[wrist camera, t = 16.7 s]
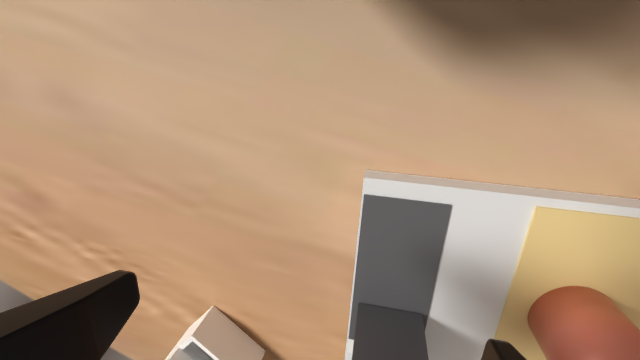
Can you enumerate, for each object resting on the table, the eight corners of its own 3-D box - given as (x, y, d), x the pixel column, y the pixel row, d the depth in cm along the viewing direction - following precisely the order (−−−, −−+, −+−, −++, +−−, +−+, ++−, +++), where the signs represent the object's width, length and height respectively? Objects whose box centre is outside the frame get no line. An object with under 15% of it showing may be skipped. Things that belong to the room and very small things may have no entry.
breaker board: (365, 169, 19) (363, 178, 18) (671, 202, 17) (700, 216, 15) (347, 343, 24) (344, 363, 23) (581, 391, 21) (597, 416, 20)
